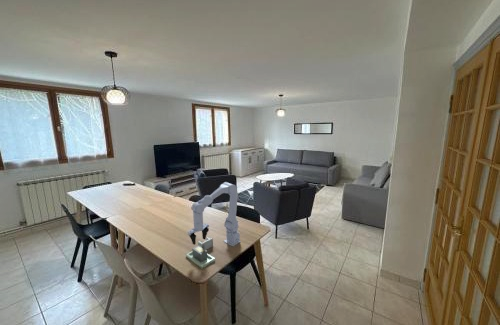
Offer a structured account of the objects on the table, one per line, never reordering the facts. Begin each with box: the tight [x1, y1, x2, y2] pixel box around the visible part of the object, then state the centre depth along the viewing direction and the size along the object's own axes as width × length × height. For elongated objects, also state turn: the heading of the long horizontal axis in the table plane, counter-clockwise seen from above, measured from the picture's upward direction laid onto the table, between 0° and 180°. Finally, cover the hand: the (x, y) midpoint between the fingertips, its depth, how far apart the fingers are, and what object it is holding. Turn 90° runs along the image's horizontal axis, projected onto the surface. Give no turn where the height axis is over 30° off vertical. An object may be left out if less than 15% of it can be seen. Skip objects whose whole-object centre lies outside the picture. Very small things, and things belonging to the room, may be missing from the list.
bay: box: [197, 236, 214, 251], centre depth 138 cm, size 6×8×6 cm
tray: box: [185, 251, 216, 269], centre depth 125 cm, size 17×10×2 cm, turn 49°
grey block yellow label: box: [191, 244, 208, 262], centre depth 125 cm, size 9×5×6 cm, turn 49°
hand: (199, 241), depth 127 cm, fingers open, 7 cm apart
